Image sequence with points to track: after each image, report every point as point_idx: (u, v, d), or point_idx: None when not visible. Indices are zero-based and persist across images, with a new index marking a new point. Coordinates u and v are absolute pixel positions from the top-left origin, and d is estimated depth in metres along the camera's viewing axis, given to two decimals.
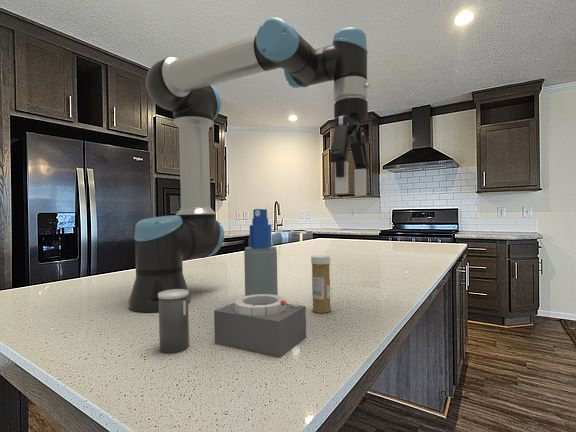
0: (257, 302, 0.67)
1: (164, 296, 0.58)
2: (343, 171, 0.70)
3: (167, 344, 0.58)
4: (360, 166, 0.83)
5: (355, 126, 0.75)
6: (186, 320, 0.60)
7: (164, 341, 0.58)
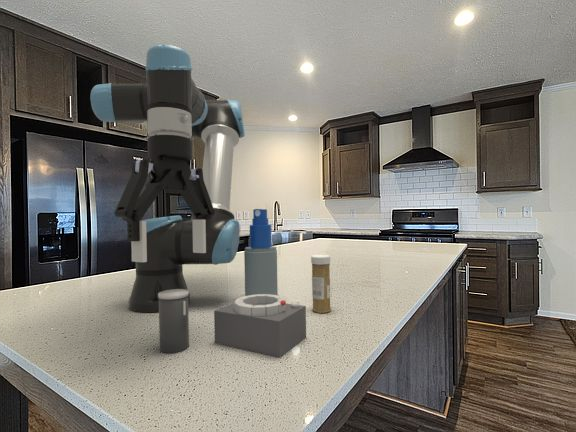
0: (257, 302, 0.67)
1: (164, 296, 0.58)
2: (138, 234, 0.53)
3: (167, 344, 0.58)
4: (200, 215, 0.67)
5: (168, 171, 0.58)
6: (186, 320, 0.60)
7: (164, 341, 0.58)
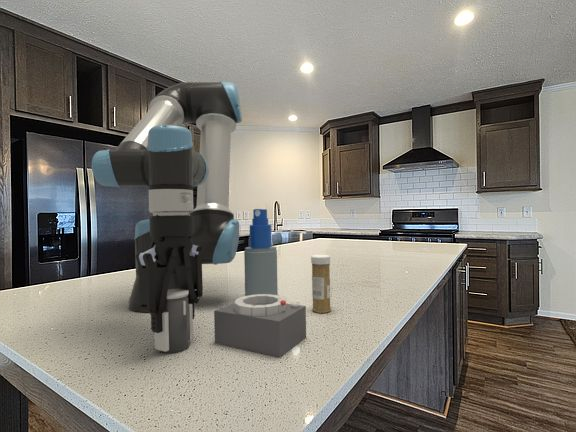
0: (257, 302, 0.67)
1: None
2: (161, 325, 0.57)
3: None
4: None
5: (170, 253, 0.58)
6: (186, 320, 0.60)
7: None
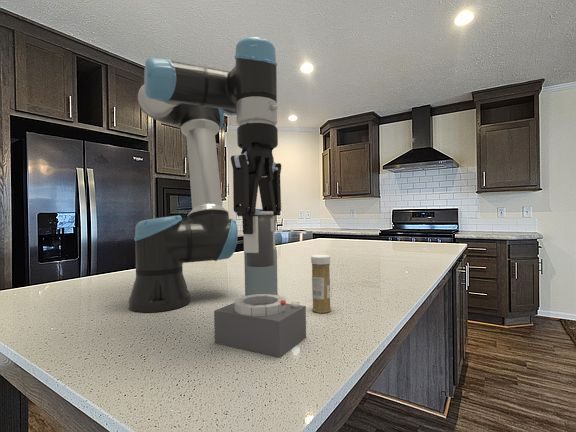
0: (257, 302, 0.67)
1: None
2: (252, 227, 0.60)
3: (257, 258, 0.61)
4: None
5: (259, 159, 0.61)
6: (272, 237, 0.63)
7: (253, 255, 0.61)
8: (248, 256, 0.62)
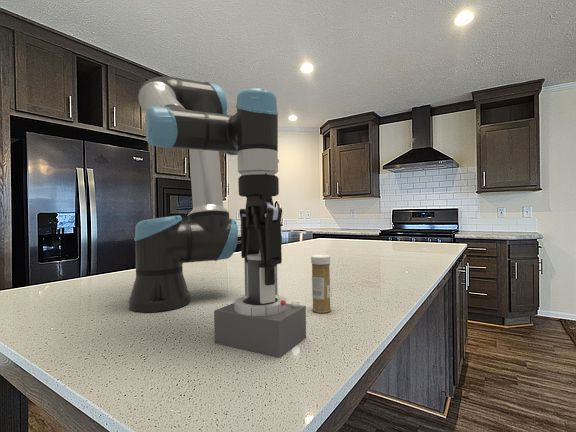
0: None
1: None
2: None
3: None
4: None
5: None
6: None
7: None
8: (257, 302, 0.61)
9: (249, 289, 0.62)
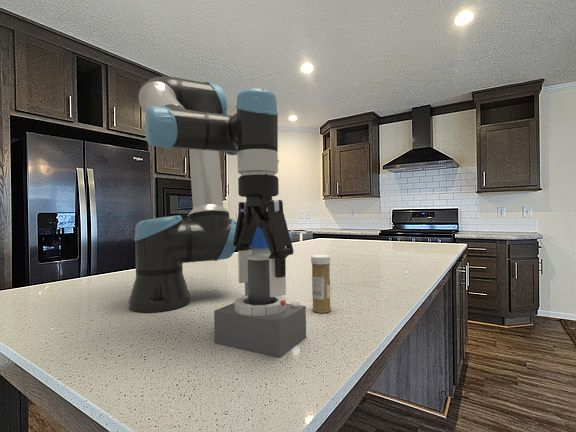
0: None
1: (266, 257, 0.61)
2: None
3: (268, 303, 0.62)
4: (244, 246, 0.70)
5: None
6: None
7: (265, 300, 0.61)
8: (257, 302, 0.61)
9: (249, 289, 0.62)
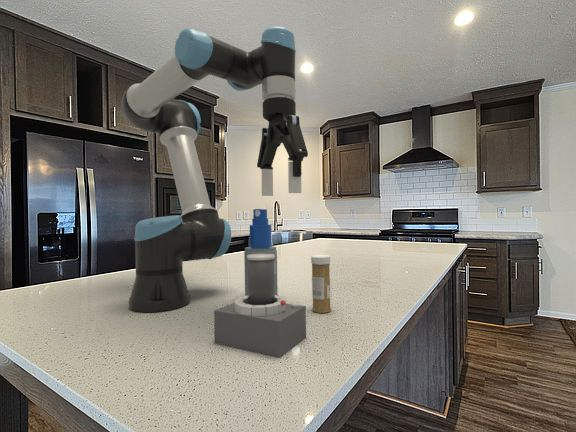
0: None
1: (266, 257, 0.61)
2: None
3: (268, 303, 0.62)
4: (266, 166, 0.83)
5: None
6: None
7: (265, 300, 0.61)
8: (257, 302, 0.61)
9: (249, 289, 0.62)
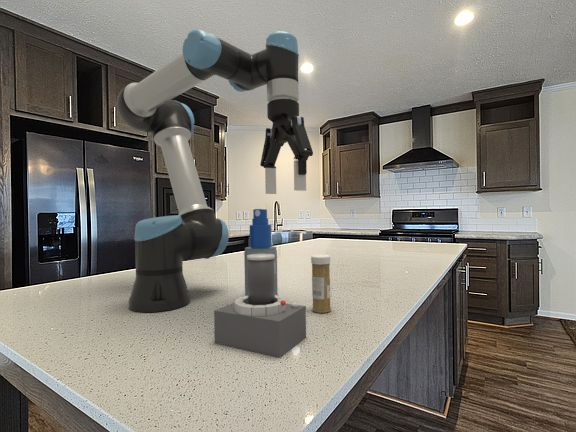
0: None
1: (266, 257, 0.61)
2: None
3: (268, 303, 0.62)
4: (269, 165, 0.86)
5: None
6: None
7: (265, 300, 0.61)
8: (257, 302, 0.61)
9: (249, 289, 0.62)
